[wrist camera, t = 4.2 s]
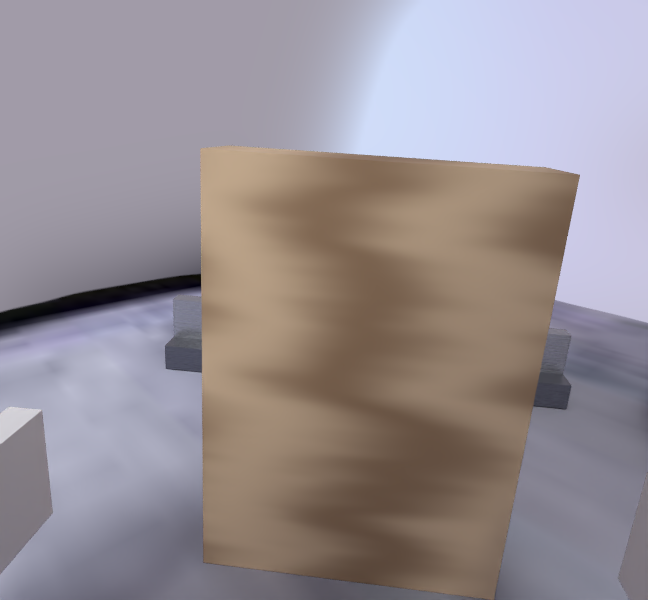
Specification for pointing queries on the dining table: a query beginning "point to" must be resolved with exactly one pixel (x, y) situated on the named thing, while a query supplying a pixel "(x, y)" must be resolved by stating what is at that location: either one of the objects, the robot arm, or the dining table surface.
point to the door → (371, 360)
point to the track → (188, 352)
